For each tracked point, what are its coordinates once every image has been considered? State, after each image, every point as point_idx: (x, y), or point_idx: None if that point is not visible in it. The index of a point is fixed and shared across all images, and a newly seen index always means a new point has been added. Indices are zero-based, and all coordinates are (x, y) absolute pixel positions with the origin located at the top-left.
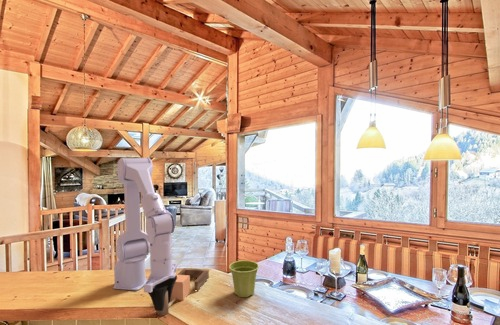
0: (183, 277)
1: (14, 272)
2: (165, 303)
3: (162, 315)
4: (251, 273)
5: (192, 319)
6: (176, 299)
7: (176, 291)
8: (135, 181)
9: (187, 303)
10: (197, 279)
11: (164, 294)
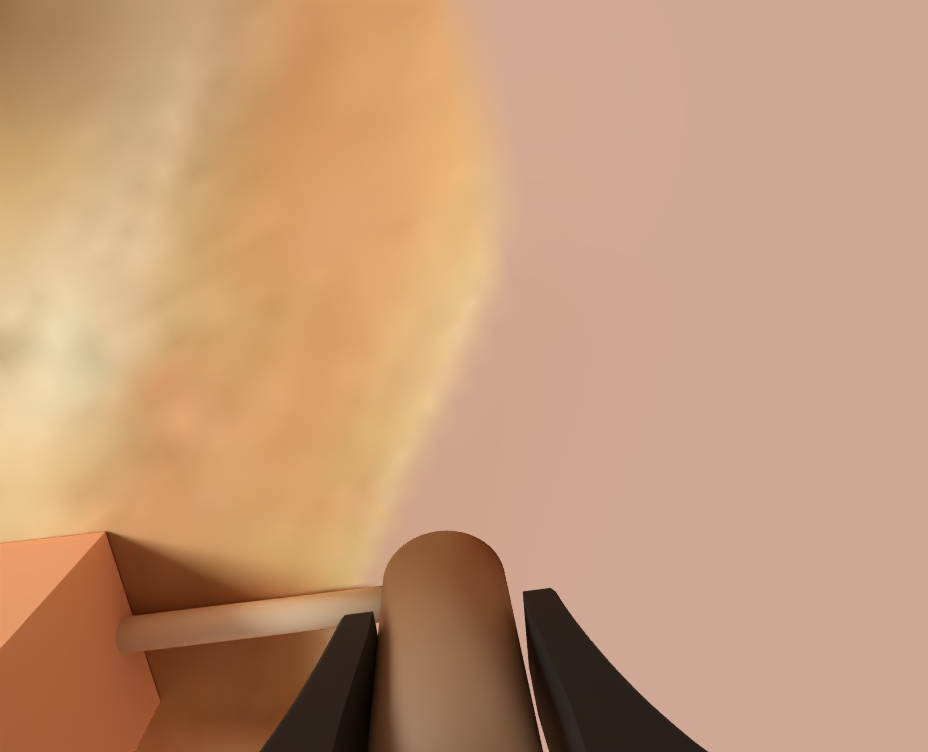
0: None
1: None
2: (485, 628)
3: (498, 558)
4: None
5: (473, 169)
6: (130, 614)
7: (71, 696)
8: None
9: (148, 441)
10: None
11: (615, 749)
